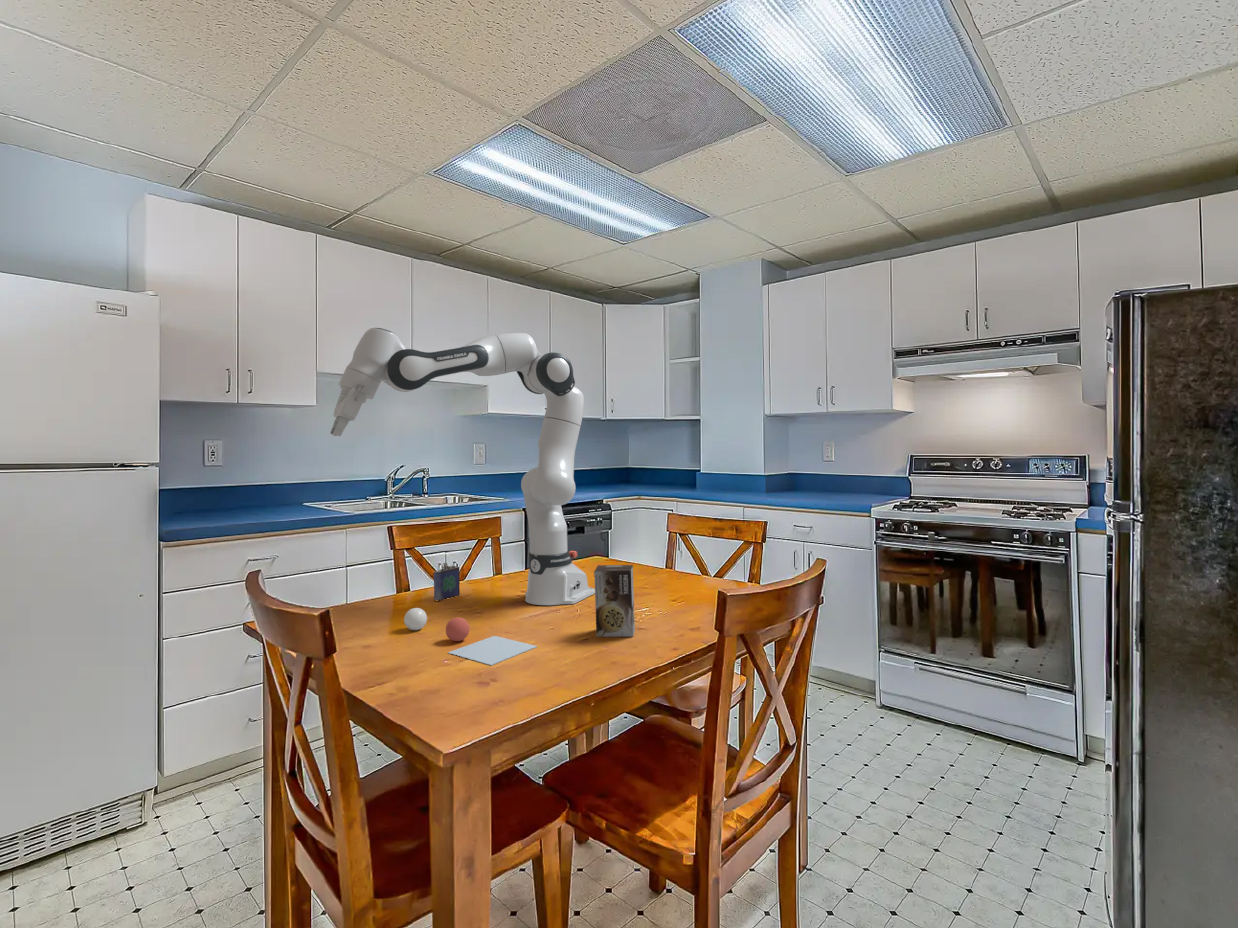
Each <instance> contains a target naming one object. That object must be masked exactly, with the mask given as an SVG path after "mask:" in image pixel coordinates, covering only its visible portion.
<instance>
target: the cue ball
mask: <svg viewBox="0 0 1238 928" xmlns="http://www.w3.org/2000/svg"><path fill="white" fill-rule="evenodd" d="M427 621H428V616H427V613H426V611H425V610H424V609H422V608H420V607H414V608H410V609H408V610H407V611H406V613H405V615H404V618H403V622H404V625H405V627H407V629H408V630H411V631H419V630H421V629H422V628H423V627H424V626H426V624H427Z"/></svg>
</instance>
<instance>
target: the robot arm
mask: <svg viewBox="0 0 1238 928" xmlns="http://www.w3.org/2000/svg"><path fill="white" fill-rule="evenodd" d="M513 372H516V373H517V375H518V377H519V378H520V380H521V383H522V385H523V386H524V388H525V389H526V390H527V391H529V392H530V393H533V394H536V395H543V394H544V396H545V397H546V409H545V413H544V417H543V421H542V426H541V429H540V434H539V437H538V443H537V447H538V464H537V467H536V466H535V467H534V468H531V469H530V470H528V471H527V472H526V473H524V475H523V477H522V478H521V482H520V488H521V491H522V493H523V499H524V506H525V511H526V516H527V521H528V532H529V535H528V536H529V538H528V539H529V552H528V556H527V557H528V558H527V559H528V563H527V565H528V566H529V569H528V575H527V586H526V591H525V594H524V595H525V600H524V602H526V603H528V604H530V605H534V606H535V605H536V606H537V605H538V606H558V605H574V604H577V603H579V602H581V601H582V600H584V599H587V598H589V597H591V596H592V595H595V587H594V588H593V587H591V586H589V583H588V582H589V581H588V576H587V573H586V572H585V571H583V570H582V569H580V567H578V566H577V565H575V564H574V563H573V560H572V558H573V559H576V558H577V557H578V551H576V550H570V551H569V550H568V525H567V522H566V519H565V517H564V513H563V509H562V506H565V505H567V504H568V503H569V502H570V501H572V499H573V498H574V496H575V494H576V487H577V486H576V482H575V477H574V475H575V454H576V449H577V443H578V440H579V436H580V435H579V434H580V430H581V426H582V423H583V422H582V421H583V416H584V408H585V407H584V405H585V397H584V394H583V392H582V391H581V390H580V389H578V387H576V386H575V384H576V380H575V377H574V370H573V364H572V363H571V361H570V359H569V358H568V357H567V356H565V355H564V354H562V353H559V352H547V353H544V354H542V353H541V352H540V351H539V349H538V348H537V345H536V342H535V340H534V338H533V337H532V336H531V335H529V333H526V332H505V333H496V334H491V335H487V336H483V337H480V338H477V339H475V340H473V341H471V342H468V343H467V344H465V345H463V346H460V347H457V348H456V347H455V348H449V349H444V350H439V351H438V350H437V351H431V352H428V351H427V352H426V351H422V350H421V351H420V350H417V349H413V348H412V349H411V348H406V347H405V345H404V344H403V343H402V342H401V339H400V338H399V336H398V334H396V333H395V332H393V331H391V330H388V329H386V328H385V329H384V328H381V327H372V328H369V329H367V330H366V331H365V332H364V333H363V335H362V337H361V338H360V339H359V341H358V343H357V345H356V347H355V349H354V351H353V355H352V359H351V361H350V362H349V364H348V365H347V366H346V368H345V369H344V371H343V374H342V376H341V378H340V380H339V382H338V385H339V386H340V389H341V391H340V394H339V396H338V399H337V403H336V406H335V407H334V411H333V415H332V416H333V417H335V419H334V421H333V424H332V428H331V430H330V435H332V436H335V437H336V436H337V437H341V436H342V435H343V432H344V431H345V429H346V427H347V426H348V424H349V423H350V422H351V421H354V420H355V419H356V418H357V416H358V414H359V411H360V409H361V407H362V406H363V404H366V402H367V400H368V399H369V400H373V399H374V397H375V395H376V393H377V391H378V389H379V387H380V386H381V385H380V384H381V382H384V383H386V384H387V385H388V386H390V387H391V388H392V389H394V390H395V391H398V392H401V393H406V392H407V393H408V392H411V391H414V390H417V389H419V388H421V387H423V386H424V385H426V384H427V383H428V382H430V381H431V380H434V379H435V378H438V377H445V376H448V375H449V376H450V375H454V374H458V373H459V374H460V373H472V374H475V375H477V376H479V377H491V376H499V375H503V374H509V373H513Z"/></svg>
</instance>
